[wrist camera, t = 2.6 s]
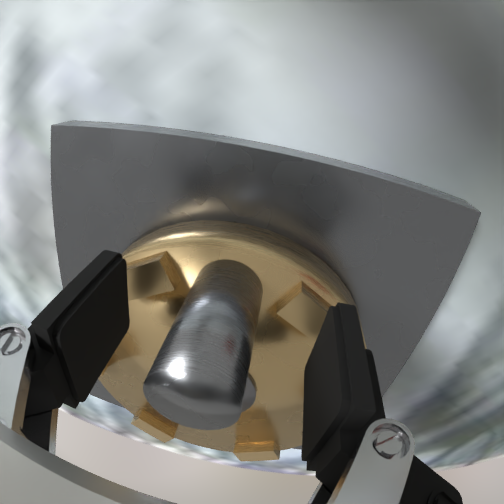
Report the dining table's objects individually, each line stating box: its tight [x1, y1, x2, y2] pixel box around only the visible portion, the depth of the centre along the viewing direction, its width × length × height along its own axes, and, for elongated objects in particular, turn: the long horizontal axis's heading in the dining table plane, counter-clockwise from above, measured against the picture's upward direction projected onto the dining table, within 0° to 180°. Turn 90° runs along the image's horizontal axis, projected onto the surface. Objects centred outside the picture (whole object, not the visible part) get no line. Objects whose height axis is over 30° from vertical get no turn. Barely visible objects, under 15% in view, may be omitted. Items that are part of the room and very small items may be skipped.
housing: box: [51, 121, 481, 449], centre depth 17 cm, size 20×20×3 cm
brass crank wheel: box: [98, 220, 367, 461], centre depth 13 cm, size 14×14×8 cm
